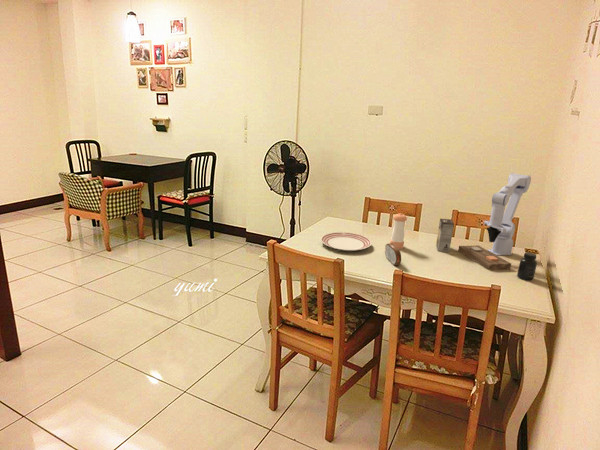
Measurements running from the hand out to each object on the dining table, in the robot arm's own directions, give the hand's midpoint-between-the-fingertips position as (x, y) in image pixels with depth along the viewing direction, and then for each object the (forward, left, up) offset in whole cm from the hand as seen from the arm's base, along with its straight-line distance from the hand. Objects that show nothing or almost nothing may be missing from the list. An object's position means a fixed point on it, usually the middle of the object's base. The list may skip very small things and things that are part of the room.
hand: (491, 241), depth 203 cm
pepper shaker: (+42, -21, -10) cm, 48 cm away
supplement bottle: (-2, +24, -10) cm, 26 cm away
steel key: (+4, -6, -9) cm, 11 cm away
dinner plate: (+70, -25, -10) cm, 75 cm away
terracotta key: (+4, +8, -9) cm, 12 cm away
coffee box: (+17, -16, -10) cm, 25 cm away
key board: (+4, +1, -9) cm, 10 cm away
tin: (+54, 0, -10) cm, 55 cm away
